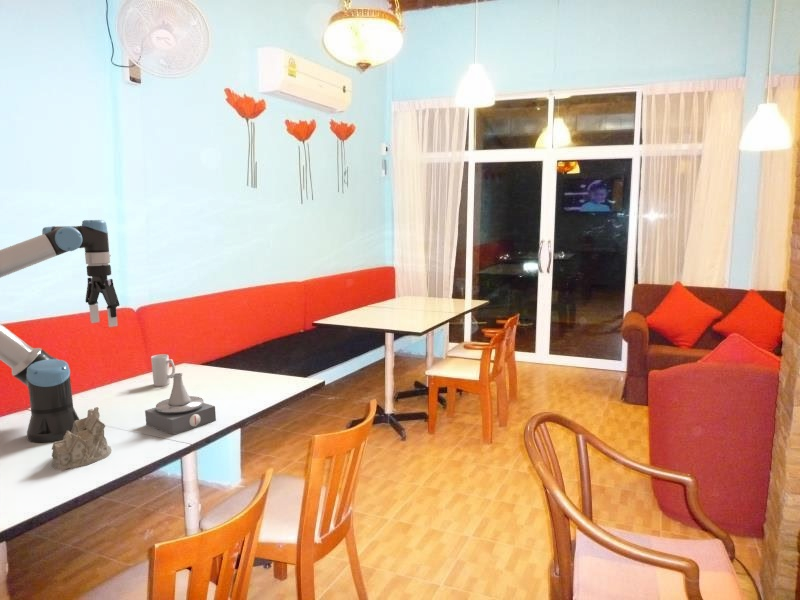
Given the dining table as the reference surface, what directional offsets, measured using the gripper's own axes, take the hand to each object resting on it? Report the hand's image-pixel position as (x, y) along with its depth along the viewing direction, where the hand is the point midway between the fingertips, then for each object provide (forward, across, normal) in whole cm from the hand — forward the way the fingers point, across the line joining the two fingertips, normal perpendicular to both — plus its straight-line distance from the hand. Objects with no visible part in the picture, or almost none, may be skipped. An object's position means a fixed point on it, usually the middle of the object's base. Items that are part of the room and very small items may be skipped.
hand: (104, 324), depth 205 cm
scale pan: (+26, -32, -8) cm, 42 cm away
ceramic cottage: (+32, -33, +25) cm, 53 cm away
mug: (+32, +16, -29) cm, 46 cm away
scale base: (+32, -32, -8) cm, 46 cm away
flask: (+25, -32, -8) cm, 41 cm away
